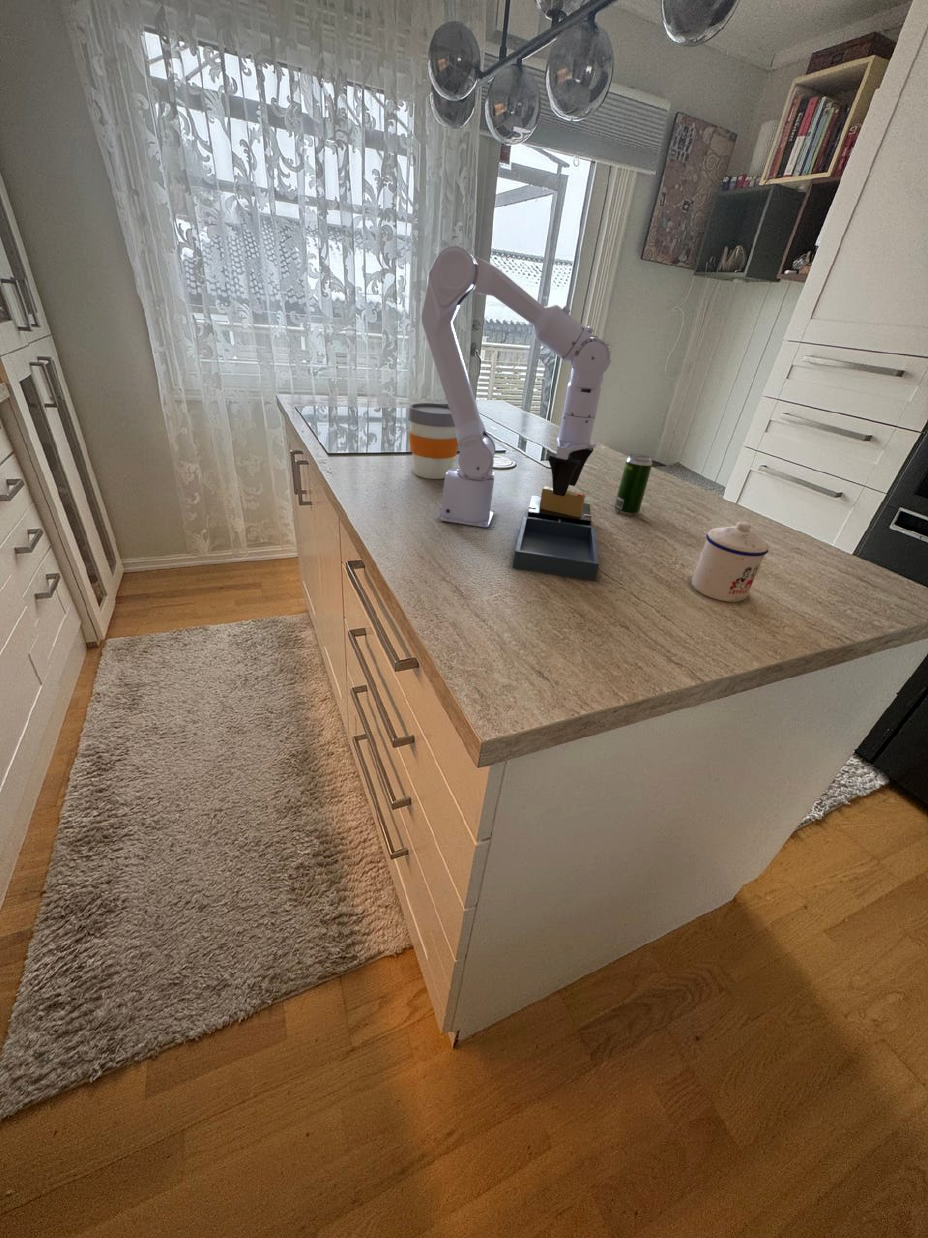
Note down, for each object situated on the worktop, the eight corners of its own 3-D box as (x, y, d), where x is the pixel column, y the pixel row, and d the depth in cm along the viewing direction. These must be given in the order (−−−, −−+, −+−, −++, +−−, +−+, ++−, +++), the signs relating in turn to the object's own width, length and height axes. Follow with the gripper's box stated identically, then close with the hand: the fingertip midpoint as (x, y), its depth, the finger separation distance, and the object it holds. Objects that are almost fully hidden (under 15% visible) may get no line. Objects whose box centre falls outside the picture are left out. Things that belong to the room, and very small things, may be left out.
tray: (512, 568, 85) (515, 550, 84) (520, 531, 99) (523, 515, 98) (595, 581, 84) (599, 564, 82) (591, 541, 98) (595, 526, 96)
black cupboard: (528, 511, 109) (531, 494, 107) (586, 519, 108) (590, 503, 106) (523, 535, 98) (526, 517, 96) (588, 545, 96) (592, 526, 94)
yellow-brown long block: (539, 508, 101) (542, 486, 99) (541, 505, 102) (545, 484, 100) (578, 517, 98) (583, 496, 96) (581, 514, 100) (585, 493, 97)
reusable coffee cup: (457, 483, 121) (462, 416, 113) (403, 478, 120) (405, 410, 112) (458, 468, 131) (463, 405, 124) (409, 463, 131) (411, 400, 123)
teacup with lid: (734, 609, 80) (764, 539, 74) (679, 586, 85) (703, 519, 79) (762, 588, 87) (791, 523, 81) (710, 567, 92) (734, 505, 86)
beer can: (627, 517, 111) (642, 461, 105) (608, 509, 115) (622, 454, 109) (643, 514, 114) (659, 459, 108) (624, 506, 118) (638, 452, 111)
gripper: (592, 424, 84) (575, 504, 91) (610, 412, 95) (593, 484, 102) (550, 417, 86) (537, 496, 93) (572, 406, 97) (559, 477, 105)
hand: (564, 489), depth 98 cm, fingers open, 7 cm apart
